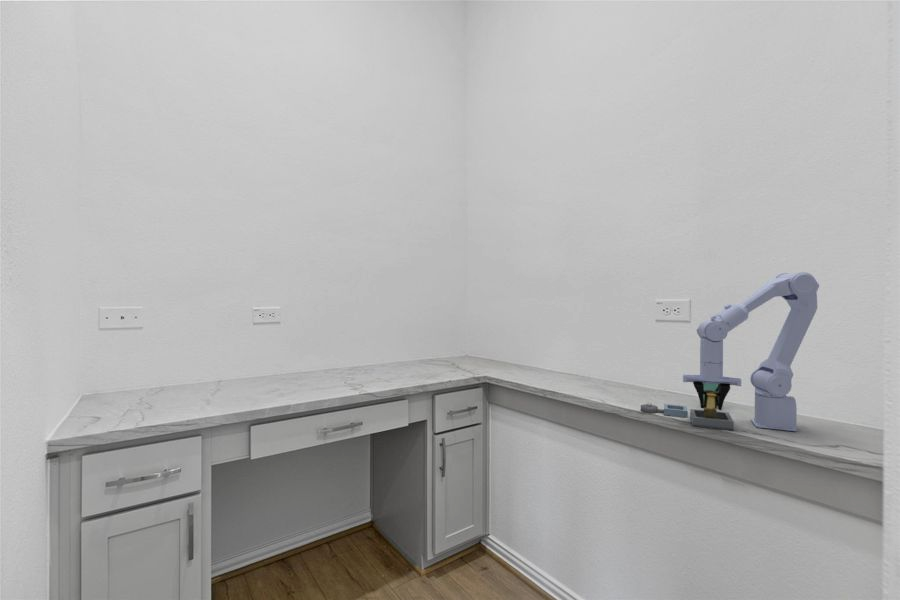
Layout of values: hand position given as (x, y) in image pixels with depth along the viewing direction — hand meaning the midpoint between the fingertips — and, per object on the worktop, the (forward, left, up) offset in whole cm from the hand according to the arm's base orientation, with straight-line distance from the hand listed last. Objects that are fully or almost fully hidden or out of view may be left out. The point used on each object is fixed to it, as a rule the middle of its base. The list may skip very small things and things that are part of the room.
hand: (711, 408), depth 130 cm
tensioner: (+12, -7, -4) cm, 15 cm away
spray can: (-2, -21, -5) cm, 22 cm away
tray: (0, 0, -4) cm, 4 cm away
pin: (0, 0, -3) cm, 3 cm away
